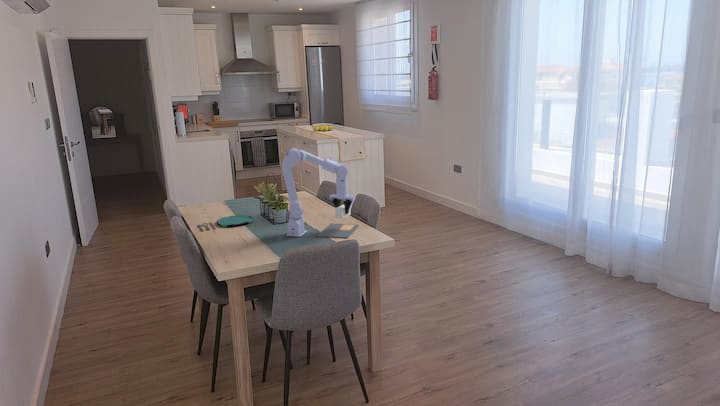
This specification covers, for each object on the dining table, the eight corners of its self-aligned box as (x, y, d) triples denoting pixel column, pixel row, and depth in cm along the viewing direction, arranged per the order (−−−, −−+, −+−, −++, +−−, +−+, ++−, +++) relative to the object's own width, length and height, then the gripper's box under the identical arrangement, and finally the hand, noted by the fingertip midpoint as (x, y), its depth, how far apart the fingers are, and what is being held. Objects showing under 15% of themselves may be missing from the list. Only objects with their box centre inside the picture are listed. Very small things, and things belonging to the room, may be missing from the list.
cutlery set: (256, 224, 276) (256, 220, 276) (201, 233, 264) (201, 229, 263) (247, 216, 294) (247, 212, 293) (195, 225, 281) (195, 221, 280)
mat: (347, 238, 247) (347, 237, 247) (317, 236, 252) (317, 235, 251) (358, 225, 268) (358, 224, 268) (330, 224, 272) (330, 223, 272)
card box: (350, 214, 262) (350, 205, 261) (342, 218, 256) (342, 209, 254) (343, 213, 265) (343, 204, 263) (335, 217, 258) (334, 208, 257)
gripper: (357, 187, 256) (358, 212, 259) (334, 185, 263) (335, 209, 267) (350, 190, 250) (351, 215, 253) (326, 187, 257) (328, 212, 261)
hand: (342, 213), depth 260 cm, fingers closed on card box, 4 cm apart
